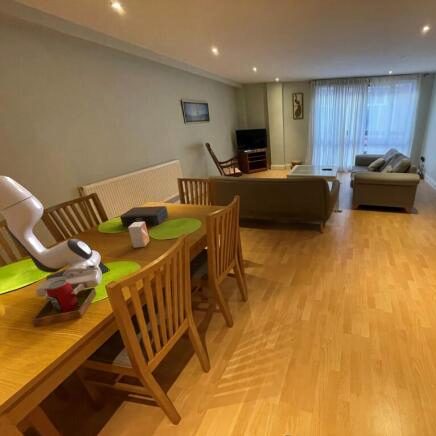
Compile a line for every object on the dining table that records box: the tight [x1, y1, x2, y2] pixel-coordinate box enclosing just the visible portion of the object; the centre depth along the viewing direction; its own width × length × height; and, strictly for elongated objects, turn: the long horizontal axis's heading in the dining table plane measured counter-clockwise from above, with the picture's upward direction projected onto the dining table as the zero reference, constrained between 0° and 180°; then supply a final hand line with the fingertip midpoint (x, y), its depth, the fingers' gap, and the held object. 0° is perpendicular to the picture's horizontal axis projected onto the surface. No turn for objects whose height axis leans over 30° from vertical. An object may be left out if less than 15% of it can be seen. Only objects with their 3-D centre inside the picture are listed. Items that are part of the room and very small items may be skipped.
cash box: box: [120, 205, 169, 227], centre depth 176 cm, size 25×20×8 cm
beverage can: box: [46, 280, 80, 314], centre depth 92 cm, size 7×7×12 cm
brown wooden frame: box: [31, 287, 98, 328], centre depth 94 cm, size 14×14×3 cm
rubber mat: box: [46, 260, 111, 279], centre depth 116 cm, size 20×18×1 cm
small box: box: [127, 222, 150, 248], centre depth 141 cm, size 8×6×13 cm
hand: (60, 295), depth 91 cm, fingers closed on beverage can, 6 cm apart
